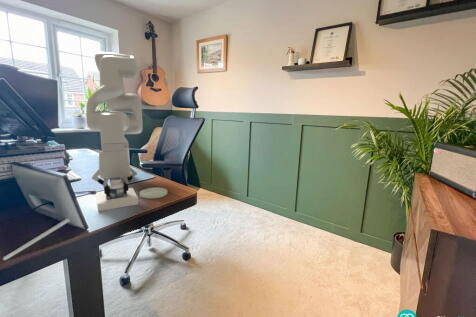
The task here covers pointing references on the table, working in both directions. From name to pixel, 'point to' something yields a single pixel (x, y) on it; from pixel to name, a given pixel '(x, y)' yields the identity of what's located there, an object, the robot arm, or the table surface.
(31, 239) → the table surface
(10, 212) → the table surface
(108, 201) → the pocket holder
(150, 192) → the coaster
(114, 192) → the pill bottle
